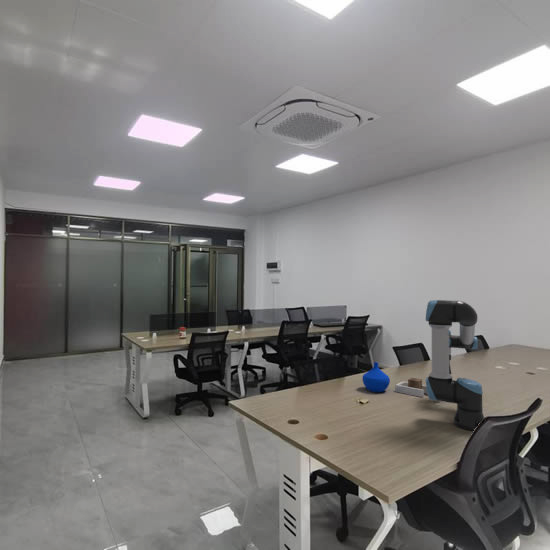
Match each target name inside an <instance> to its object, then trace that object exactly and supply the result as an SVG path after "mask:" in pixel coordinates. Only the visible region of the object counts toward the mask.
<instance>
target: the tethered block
mask: <svg viewBox="0 0 550 550" xmlns="http://www.w3.org/2000/svg"><path fill="white" fill-rule="evenodd" d="M407 382H408V387H412V388H417V389H422V385H423V379H420V378H416V377H410V378H409V379H407ZM424 396H428V394H427V393H424Z"/></svg>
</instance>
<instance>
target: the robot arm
mask: <svg viewBox="0 0 550 550" xmlns="http://www.w3.org/2000/svg"><path fill="white" fill-rule="evenodd" d="M425 321H426V322H428V325H429V327H430V328H431V372H430V373H429V374H428V376H427V377H426V378H425V386H426V389H427V394H428V395H427V397H428V399H429V400H431V401H437V402H442V403H451V404H456V405H457V406H456V411H455V414H454V416H453V424H454V425H455V426H456V427H458V428H461V429H462V430H466V429H467V431H471V430H473V432H475V431H474V429H475V428H476V427H477V426H478V424H479V423H480V422H481V421H482V420H483V419H484V418H485V415H484V413H483V411H484V410H483V386H482V384H481V383H480V382H478V381H476V380H473V379H470V378H465V377H457V379H456V380H453V375H452V369H451V362H450V361H451V360H452V355H451V354H452V348H454V349H465V350H477V349H478V348H479V346H478V344H479V343H478V337H477V336H475V331H476V330H475V328H476V324H477V322H478V313H477V311H476V310H475V309H474V308H473V306H472V305H471V304H468V302H467V303H466V302H465V301H462V300H448V299H447V300H442V299H441V300H440V299H436V300H435V299H434V300H433V299H432V300H429V301H428V303H427V306H426V311H425ZM453 323H458V324H459V335H452V331H451V330H450V328H451V327H452V326H453Z"/></svg>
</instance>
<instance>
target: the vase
mask: <svg viewBox="0 0 550 550" xmlns="http://www.w3.org/2000/svg"><path fill="white" fill-rule="evenodd" d="M390 381H391V380H390V376H389V375H387V374H386V373H385V372H384V371H382V370H381V369H380V368H379V362H377V361H376V362H373V367H372V368H370V370H368V371H367V372H366V373H363V375H362V383H363V384H364V385H363V386H364V387H365V388H366V389H367V390H368V391H370V392H372V393H383V392H385V391H386V389H388V387H389V386H390V383H391V382H390Z"/></svg>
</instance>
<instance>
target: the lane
mask: <svg viewBox="0 0 550 550" xmlns="http://www.w3.org/2000/svg"><path fill="white" fill-rule="evenodd" d="M394 389H395V390H394V391H395V392H396V393H400V394H406V395H409V396H410V395H411V396H416V397H420V398H424V397H425V395H424V393H427V389H426V384H425V385H424V384H422V389H417V388H412V387H408V381H401V382H399V383H397V384H395V388H394Z"/></svg>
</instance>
